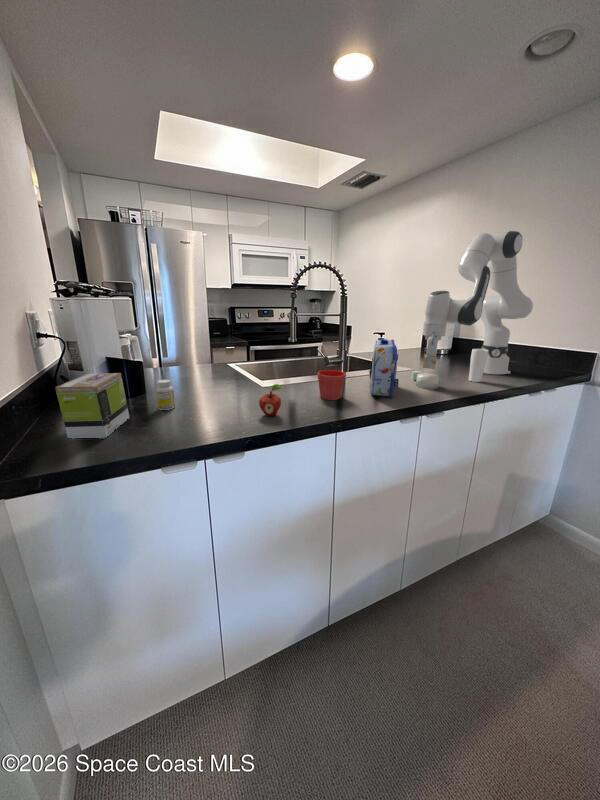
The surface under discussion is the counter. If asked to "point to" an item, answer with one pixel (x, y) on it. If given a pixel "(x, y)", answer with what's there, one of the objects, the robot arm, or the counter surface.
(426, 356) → the maple cube
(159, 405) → the supplement bottle
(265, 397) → the apple
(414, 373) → the sage block
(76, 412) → the tea box
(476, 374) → the white tall block
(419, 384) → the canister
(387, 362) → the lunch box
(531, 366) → the counter surface
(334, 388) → the flower pot
